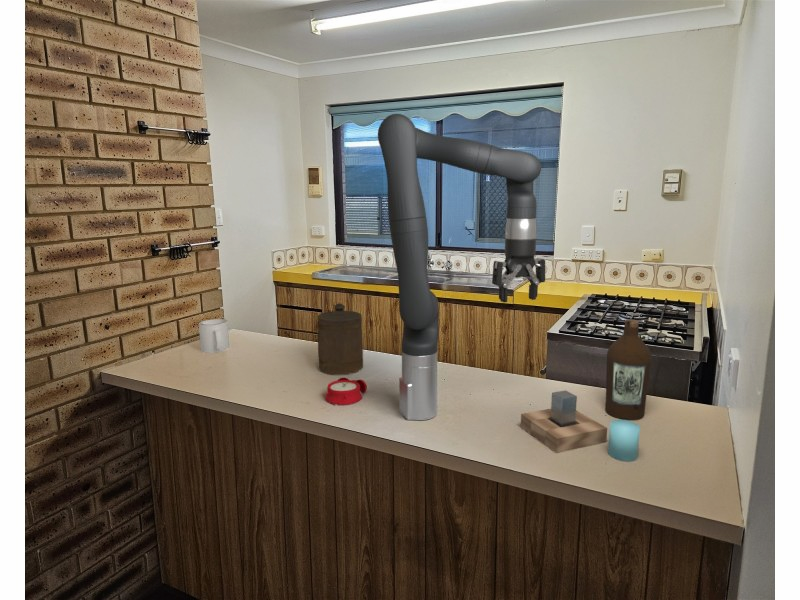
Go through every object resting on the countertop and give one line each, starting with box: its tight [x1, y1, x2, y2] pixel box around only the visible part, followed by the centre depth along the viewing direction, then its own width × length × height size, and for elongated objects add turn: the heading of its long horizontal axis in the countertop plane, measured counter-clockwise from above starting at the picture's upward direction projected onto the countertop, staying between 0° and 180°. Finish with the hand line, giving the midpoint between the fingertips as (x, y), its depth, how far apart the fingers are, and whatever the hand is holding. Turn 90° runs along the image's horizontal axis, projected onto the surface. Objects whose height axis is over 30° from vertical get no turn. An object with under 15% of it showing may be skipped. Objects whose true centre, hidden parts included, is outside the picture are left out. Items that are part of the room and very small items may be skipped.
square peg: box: [550, 389, 578, 427], centre depth 122 cm, size 4×4×10 cm
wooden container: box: [317, 302, 364, 375], centre depth 170 cm, size 15×15×22 cm
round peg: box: [607, 419, 641, 463], centre depth 112 cm, size 6×6×7 cm
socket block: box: [520, 408, 608, 454], centre depth 122 cm, size 14×14×4 cm
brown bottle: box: [604, 318, 653, 421], centre depth 132 cm, size 11×11×25 cm
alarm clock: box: [321, 377, 368, 406], centre depth 147 cm, size 10×6×15 cm
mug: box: [198, 318, 230, 354], centre depth 192 cm, size 14×10×11 cm
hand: (518, 300), depth 130 cm, fingers open, 8 cm apart
